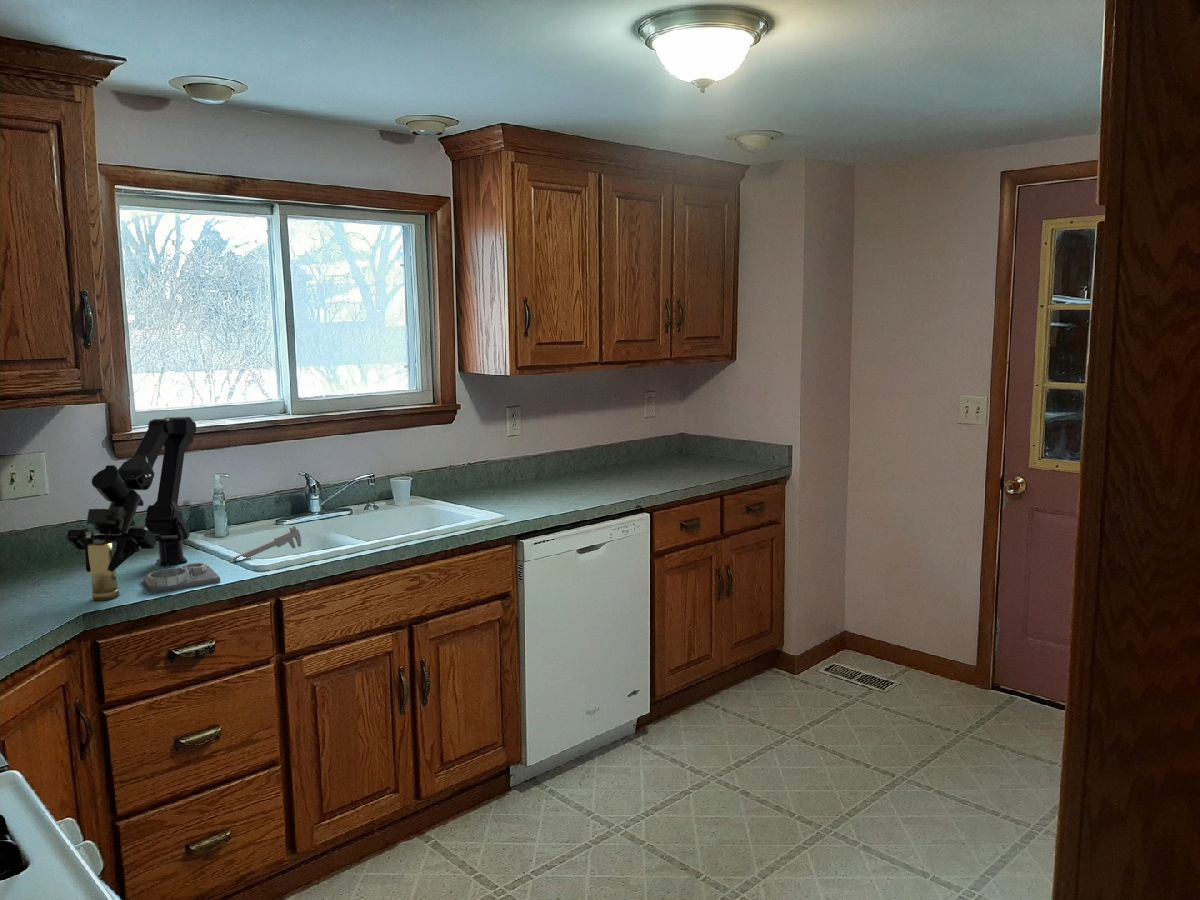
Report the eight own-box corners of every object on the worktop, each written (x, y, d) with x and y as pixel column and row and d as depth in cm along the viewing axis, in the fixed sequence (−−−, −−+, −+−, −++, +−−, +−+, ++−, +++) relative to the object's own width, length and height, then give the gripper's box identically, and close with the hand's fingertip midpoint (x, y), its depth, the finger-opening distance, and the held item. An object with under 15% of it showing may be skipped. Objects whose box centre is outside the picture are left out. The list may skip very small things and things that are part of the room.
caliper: (299, 546, 253) (297, 524, 252) (301, 547, 252) (299, 525, 251) (229, 563, 238) (227, 540, 237) (231, 564, 237) (229, 540, 236)
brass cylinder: (91, 596, 210) (84, 539, 208) (117, 591, 213) (111, 535, 211) (94, 602, 206) (87, 544, 204) (120, 597, 209) (114, 540, 207)
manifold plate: (143, 581, 222) (141, 568, 222) (208, 570, 230) (207, 558, 230) (151, 594, 211) (150, 580, 211) (220, 582, 220) (219, 569, 219)
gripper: (65, 494, 210) (39, 553, 201) (144, 492, 210) (122, 552, 200) (89, 520, 219) (66, 578, 210) (165, 518, 219) (145, 576, 209)
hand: (99, 570), depth 207 cm, fingers closed on brass cylinder, 5 cm apart
